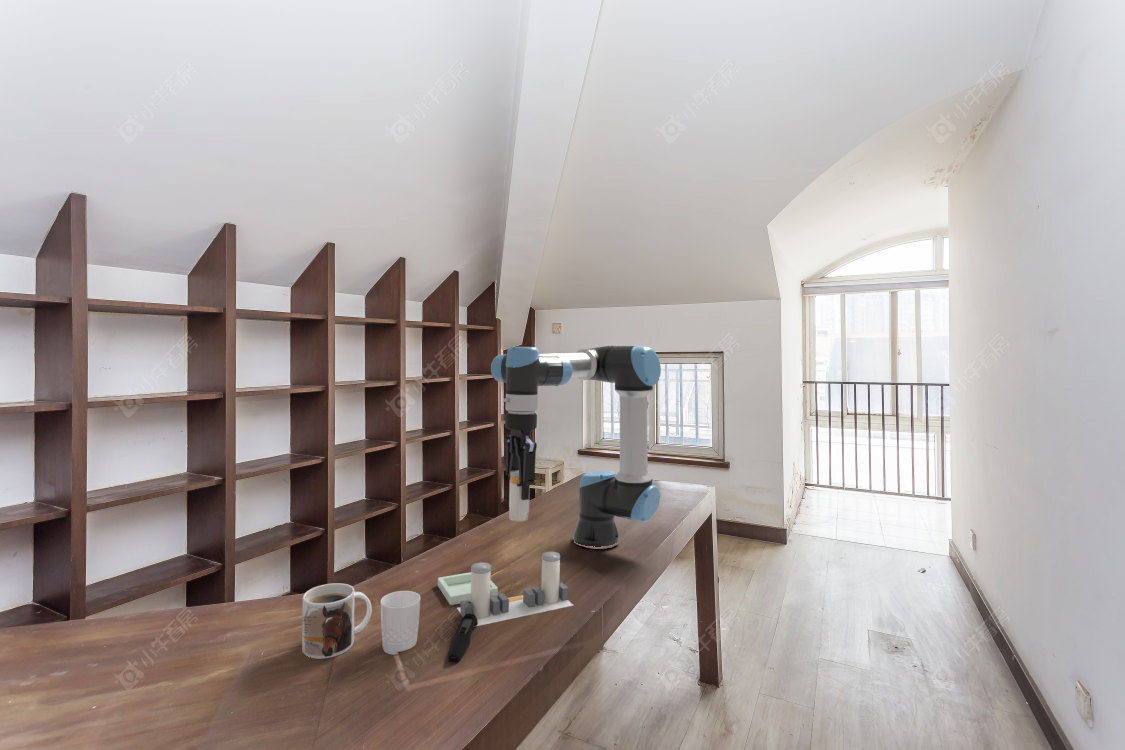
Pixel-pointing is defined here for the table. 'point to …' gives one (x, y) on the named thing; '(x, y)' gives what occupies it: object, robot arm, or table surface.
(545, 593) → the cream grey cylinder
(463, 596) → the tray
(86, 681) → the table surface
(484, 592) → the fuse
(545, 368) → the robot arm
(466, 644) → the electric trimmer
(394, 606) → the white cup
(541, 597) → the board
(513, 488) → the marked fuse
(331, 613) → the mug
